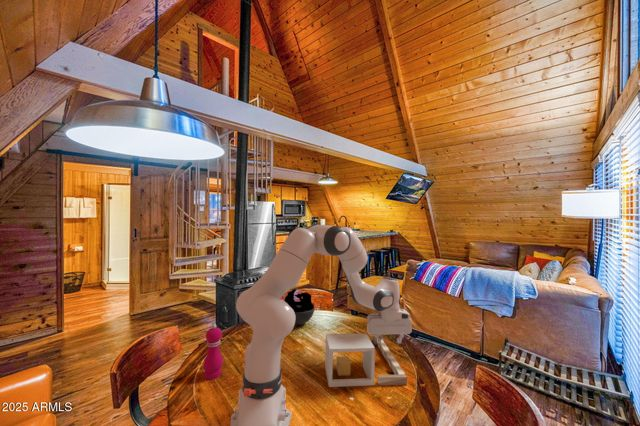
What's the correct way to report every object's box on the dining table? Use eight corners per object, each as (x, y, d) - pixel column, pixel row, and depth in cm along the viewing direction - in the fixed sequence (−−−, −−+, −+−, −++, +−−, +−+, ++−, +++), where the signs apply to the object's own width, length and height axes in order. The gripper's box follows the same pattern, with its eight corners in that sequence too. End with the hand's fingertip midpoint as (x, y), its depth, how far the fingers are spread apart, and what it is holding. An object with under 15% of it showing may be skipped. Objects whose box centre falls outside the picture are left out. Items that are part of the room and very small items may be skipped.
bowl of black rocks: (313, 331, 147) (314, 297, 147) (277, 330, 147) (278, 296, 147) (314, 317, 167) (315, 287, 167) (283, 316, 167) (283, 286, 167)
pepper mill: (215, 381, 102) (217, 329, 102) (199, 378, 103) (200, 327, 103) (226, 370, 109) (227, 321, 109) (210, 368, 110) (211, 319, 110)
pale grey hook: (409, 384, 102) (410, 376, 102) (378, 385, 101) (379, 377, 102) (381, 341, 138) (381, 335, 138) (358, 341, 137) (358, 335, 137)
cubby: (374, 385, 101) (374, 347, 102) (328, 387, 100) (329, 349, 100) (365, 366, 114) (366, 333, 114) (325, 367, 112) (325, 334, 112)
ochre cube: (350, 375, 108) (350, 362, 108) (338, 375, 107) (338, 363, 107) (348, 368, 113) (348, 356, 113) (336, 368, 112) (336, 356, 112)
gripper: (369, 316, 117) (368, 347, 117) (413, 314, 119) (413, 345, 119) (365, 310, 123) (364, 340, 123) (407, 309, 125) (407, 339, 125)
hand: (389, 343), depth 121 cm, fingers open, 8 cm apart
